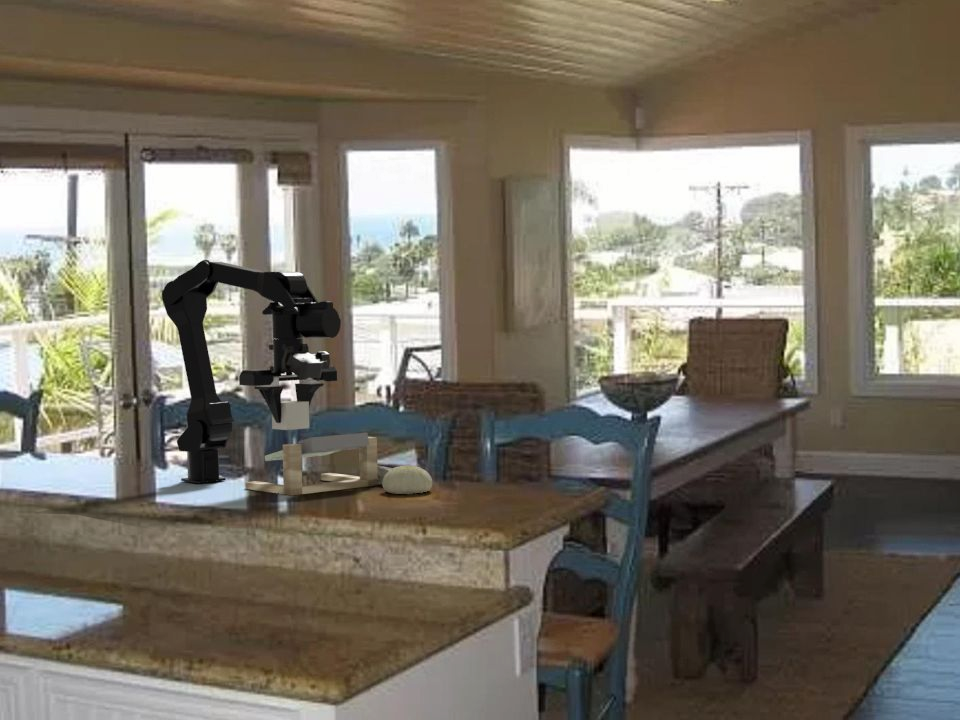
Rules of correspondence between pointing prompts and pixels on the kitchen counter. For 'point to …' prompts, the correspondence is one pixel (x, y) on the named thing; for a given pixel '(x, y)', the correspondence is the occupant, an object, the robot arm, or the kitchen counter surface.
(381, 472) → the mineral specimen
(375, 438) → the frame
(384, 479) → the sea urchin shell
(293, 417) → the off-white cube
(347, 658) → the kitchen counter surface
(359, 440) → the trapdoor
